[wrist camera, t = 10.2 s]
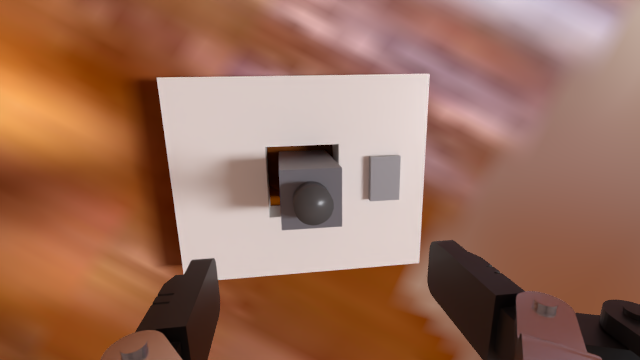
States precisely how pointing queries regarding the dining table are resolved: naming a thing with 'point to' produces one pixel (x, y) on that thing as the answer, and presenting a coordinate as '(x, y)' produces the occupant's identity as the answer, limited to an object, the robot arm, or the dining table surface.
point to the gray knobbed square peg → (309, 190)
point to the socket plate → (295, 130)
